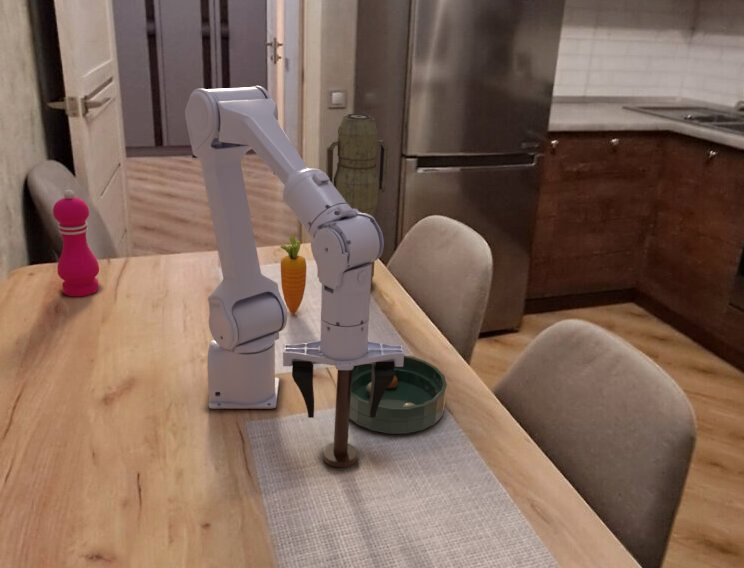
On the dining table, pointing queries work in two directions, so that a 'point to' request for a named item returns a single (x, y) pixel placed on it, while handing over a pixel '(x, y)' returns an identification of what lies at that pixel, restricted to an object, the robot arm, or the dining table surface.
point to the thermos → (358, 164)
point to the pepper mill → (75, 247)
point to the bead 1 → (368, 388)
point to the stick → (341, 425)
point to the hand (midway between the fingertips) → (341, 413)
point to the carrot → (293, 276)
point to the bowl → (400, 398)
